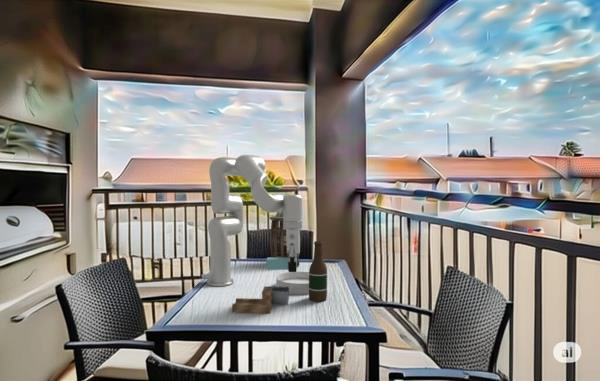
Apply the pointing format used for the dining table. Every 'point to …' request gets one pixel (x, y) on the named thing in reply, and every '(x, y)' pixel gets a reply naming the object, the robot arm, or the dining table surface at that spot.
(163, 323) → the dining table surface
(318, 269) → the beer bottle
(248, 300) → the brown wooden bracket
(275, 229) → the lantern
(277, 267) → the teal block
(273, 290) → the cradle block
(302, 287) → the dish
